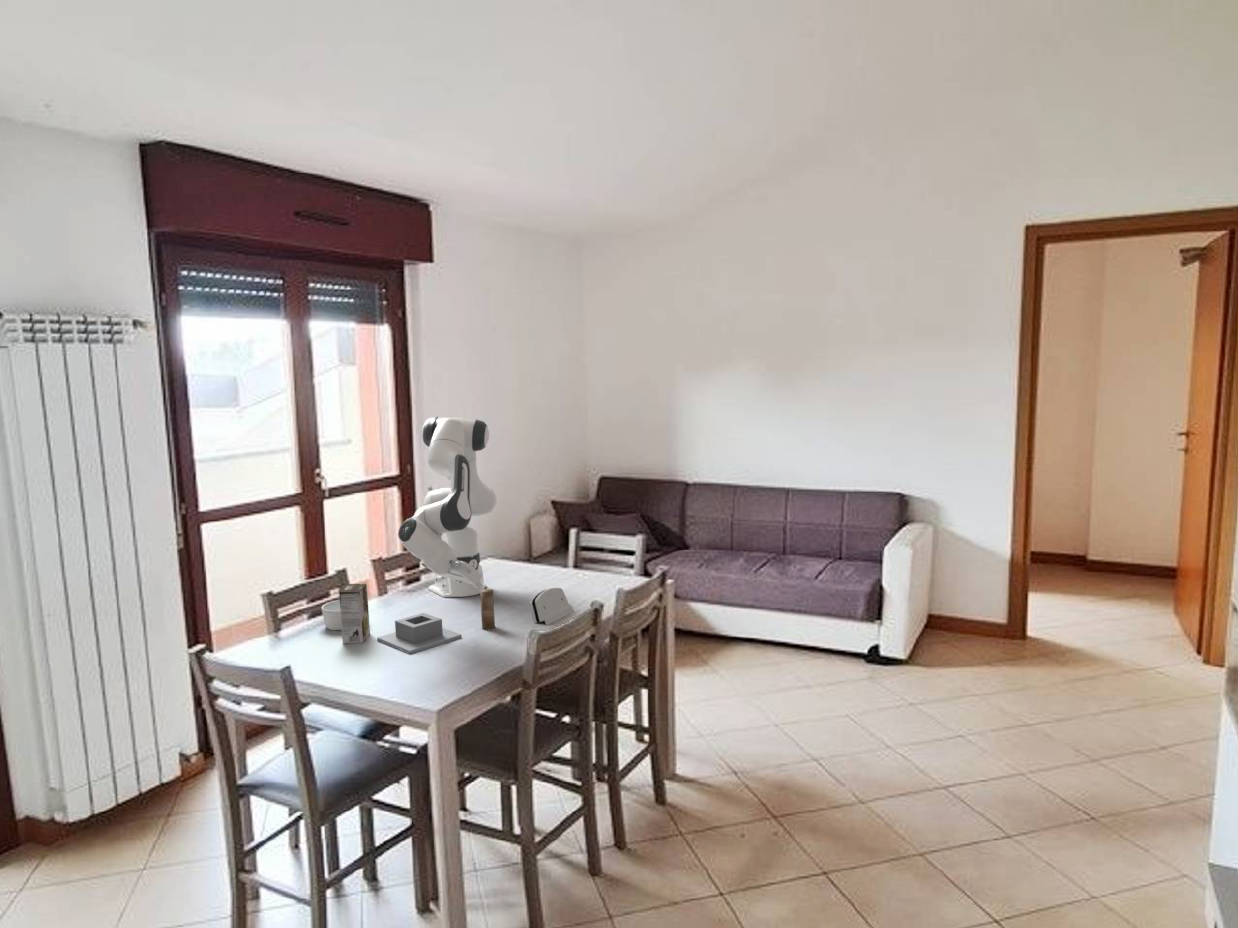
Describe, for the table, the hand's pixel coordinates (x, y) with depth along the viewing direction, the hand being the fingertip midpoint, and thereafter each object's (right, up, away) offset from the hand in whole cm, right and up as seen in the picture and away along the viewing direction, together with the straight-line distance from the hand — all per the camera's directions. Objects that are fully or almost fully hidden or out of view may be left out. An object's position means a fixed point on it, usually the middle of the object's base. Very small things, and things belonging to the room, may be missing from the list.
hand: (470, 584), depth 242 cm
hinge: (+23, -13, +17) cm, 32 cm away
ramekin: (-43, -16, +12) cm, 47 cm away
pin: (+5, -15, +6) cm, 17 cm away
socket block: (-15, -16, -3) cm, 22 cm away
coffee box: (-35, -17, -1) cm, 39 cm away
